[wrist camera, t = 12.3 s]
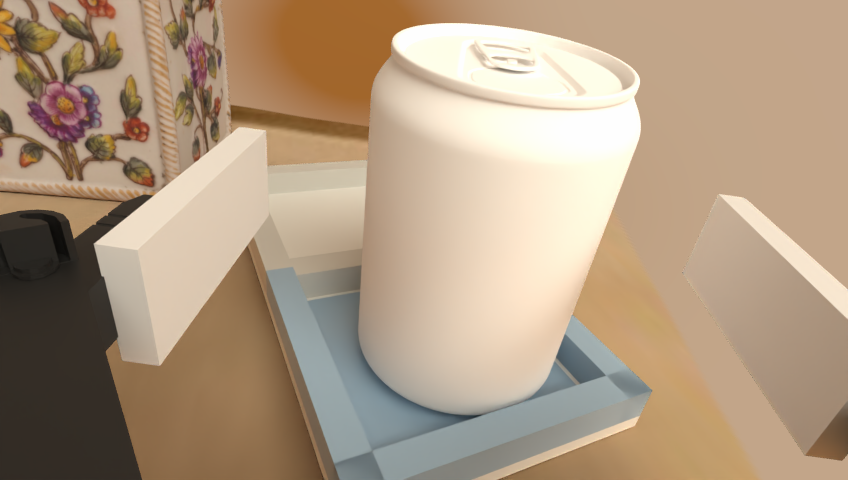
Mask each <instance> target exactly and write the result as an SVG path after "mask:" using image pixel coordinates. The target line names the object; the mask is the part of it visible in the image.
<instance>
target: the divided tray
mask: <svg viewBox="0 0 848 480" xmlns="http://www.w3.org/2000/svg"><path fill="white" fill-rule="evenodd" d="M367 161H368V160H358V161H341V162H324V163H308V164H291V165H274V166H267V172H268V199H269V216H268V217H267V219H266V220H265V222H264V223H263V224H262V226H261V227H260V228H259V230H258V231H257V233H256V234H255V235H254V237H253V238H252V240H251V241H250V242H249V244H248V248H249V251H250V254H251V257H252V260H253V263H254V267H255V270H256V273H257V276H258V279H259V282H260V285H261V288H262V291H263V294H264V297H265V300H266V303H267V306H268V309H269V313H270V316H271V319H272V322H273V325H274V328H275V331H276V334H277V337H278V340H279V343H280V346H281V349H282V352H283V355H284V359H285V362H286V365H287V368H288V371H289V374H290V377H291V380H292V383H293V386H294V389H295V392H296V395H297V398H298V401H299V405H300V408H301V411H302V414H303V417H304V420H305V423H306V426H307V429H308V432H309V435H310V438H311V441H312V444H313V447H314V451H315V454H316V457H317V460H318V463H319V466H320V469H321V472H322V475H323V478H324V480H498V479H500V478H503V477H505V476H508V475H511V474H513V473H516V472H518V471H521V470H523V469H526V468H528V467H531V466H534V465H536V464H539V463H541V462H544V461H546V460H549V459H551V458H554V457H557V456H559V455H562V454H564V453H567V452H569V451H572V450H574V449H577V448H580V447H582V446H585V445H587V444H590V443H592V442H595V441H597V440H600V439H603V438H605V437H608V436H610V435H613V434H615V433H618V432H621V431H623V430H626V429H628V428H631V427H633V426H635V424H636V422H637V420H638V418H639V416H640V414H641V412H642V410H643V408H644V406H645V404H646V402H647V400H648V398H649V396H650V394H651V392H652V390H651V389H650V388H649V387H648V386H647V385H646V384H645V383H644V382H643V381H642V380H641V379H640V378H639V377H638V376H637V375H635V374H634V373H633V372H632V371H631V370H630V369H629V368H628V367H627V366H626V365H625V364H624V363H623V362H622V361H621V360H620V359H619V358H618V357H617V356H615V355H614V354H613V353H612V352H611V351H610V350H609V349H608V348H607V347H606V346H605V345H604V344H603V343H602V342H601V341H600V340H599V339H598V338H597V337H595V336H594V335H593V334H592V333H591V332H590V331H589V330H588V329H587V328H586V327H585V326H584V325H583V324H582V323H581V322H580V321H579V320H578V319H576V318H575V317H574V316H573V315H572V316H571V319H570V321H569V324H568V326H567V329H566V332H565V334H564V337H563V340H562V342H561V345H560V347H559V350H558V353H557V355H556V358H555V360H554V363H553V366H552V368H551V371H550V373H549V375H548V377H547V379H546V381H545V383H544V384H543V385H542V387H541V388H540V389H539V390H538V391H537V392H536V393H535V394H534V395H533V396H531V397H530V398H529V399H527V400H526V401H524V402H523V403H520V404H517V405H513V406H510V407H507V408H504V409H501V410H498V411H495V412H492V413H489V414H485V415H456V414H449V413H444V412H439V411H435V410H432V409H429V408H426V407H423V406H421V405H418V404H416V403H414V402H412V401H410V400H408V399H406V398H404V397H402V396H401V395H399V394H398V393H396V392H395V391H393V390H392V389H391V388H390V387H388V386H387V385H386V384H385V383H384V382H383V381H382V380H381V379H380V378H379V377H378V376H377V375H376V374H375V373H374V371H373V370H372V369H371V367H370V366H369V364H368V362H367V361H366V359H365V357H364V355H363V352H362V350H361V347H360V343H359V336H358V322H359V304H360V286H361V268H362V250H363V232H364V215H365V197H366V179H367Z"/></svg>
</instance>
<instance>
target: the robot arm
mask: <svg viewBox="0 0 848 480" xmlns="http://www.w3.org/2000/svg"><path fill="white" fill-rule="evenodd" d="M268 216H269V199H268V172H267V145H266V131H265V130H258V129H251V128H244V127H239V128H237V129H236V130H235V131H234V132H233V133H231V134H230V135H229V136H228V137H226V138H225V139H224V140H223V141H221V142H220V143H219V144H218V145H216V146H215V147H214V148H213V149H211V150H210V151H209V152H208V153H206V154H205V155H204V156H203V157H201V158H200V159H199V160H198V161H196V162H195V163H194V164H193V165H191V166H190V167H189V168H188V169H186V170H185V171H184V172H183V173H181V174H180V175H179V176H178V177H176V178H175V179H174V180H173V181H171V182H170V183H169V184H168V185H167V186H165V187H164V188H163V189H162V190H160V191H159V192H158V193H157V194H155V195H154V196H153V195H146V194H143V195H141V196H138V197H136V198H133V199H131V200H128V201H125V202H123V203H121V204H120V205H119V206H117V207H116V208H115V209H113V210H112V211H111V212H109V213H108V216H104V217H103V218H101V219H100V220H99V221H97V222H96V225H92V226H91V227H89V228H88V229H87V230H85V231H84V232H83V233H81V234H80V235H79V236H77V237H76V238H75V239H73V235H72V231H71V228H70V224H69V220H68V219H67V218H66V217H65V216H64V215H63V214H60V213H57V212H54V211H48V210H25V211H17V212H12V213H8V214H3V215H0V480H142V478H141V474H140V471H139V467H138V464H137V461H136V457H135V454H134V450H133V447H132V443H131V440H130V436H129V433H128V429H127V426H126V422H125V419H124V415H123V412H122V408H121V405H120V401H119V398H118V394H117V391H116V387H115V384H114V380H113V377H112V373H111V370H110V366H109V363H108V359H107V356H106V352H105V351H106V350H107V349H108V348H109V347H110V346H111V345H112V343H113V342H114V341H115V340H116V339H117V342H118V346H119V350H120V354H121V358H122V361H128V362H135V363H142V364H149V365H157V366H160V365H161V364H162V362H163V361H164V360H165V358H166V357H167V355H168V354H169V353H170V351H171V350H172V349H173V347H174V346H175V344H176V343H177V342H178V340H179V339H180V337H181V336H182V335H183V333H184V332H185V331H186V329H187V328H188V326H189V325H190V324H191V322H192V321H193V320H194V318H195V317H196V315H197V314H198V313H199V311H200V310H201V309H202V307H203V306H204V304H205V303H206V302H207V300H208V299H209V297H210V296H211V295H212V293H213V292H214V291H215V289H216V288H217V286H218V285H219V284H220V282H221V281H222V280H223V278H224V277H225V275H226V274H227V273H228V271H229V270H230V268H231V267H232V266H233V264H234V263H235V262H236V260H237V259H238V257H239V256H240V255H241V253H242V252H243V251H244V249H245V248H246V246H247V245H248V244H249V242H250V241H251V240H252V238H253V237H254V235H255V234H256V233H257V231H258V230H259V228H260V227H261V226H262V224H263V223H264V222H265V220H266V219H267V217H268ZM682 273H683V275H684V276H685V278H686V279H687V281H688V282H689V284H690V285H691V287H692V288H693V290H694V291H695V293H696V294H697V296H698V297H699V299H700V300H701V302H702V303H703V305H704V306H705V308H706V309H707V311H708V312H709V314H710V315H711V316H712V318H713V319H714V321H715V323H716V324H717V326H718V327H719V329H720V330H721V331H722V333H723V334H724V336H725V337H726V339H727V340H728V342H729V343H730V345H731V346H732V348H733V349H734V351H735V352H736V354H737V355H738V357H739V358H740V360H741V361H742V363H743V364H744V366H745V367H746V369H747V370H748V372H749V373H750V375H751V376H752V378H753V379H754V381H755V382H756V384H757V385H758V387H759V388H760V390H761V391H762V392H763V394H764V396H765V397H766V398H767V400H768V401H769V403H770V404H771V406H772V407H773V409H774V410H775V412H776V413H777V415H778V416H779V418H780V419H781V421H782V422H783V424H784V425H785V427H786V428H787V430H788V431H789V433H790V434H791V436H792V437H793V439H794V440H795V442H796V443H797V445H798V446H799V447H800V449H801V450H802V452H803V454H804V455H806V456H812V457H820V458H827V459H834V460H841V461H842V460H843V459H844V458H845V457H846V456H847V454H848V289H847V288H845V287H844V286H843V285H842V284H841V283H840V282H839V281H838V280H836V279H835V278H834V277H833V276H832V275H831V274H830V273H829V272H827V271H826V270H825V269H824V268H823V267H822V266H821V265H820V264H818V263H817V262H816V261H815V260H814V259H813V258H812V257H810V256H809V255H808V254H807V253H806V252H805V251H804V250H803V249H802V248H800V247H799V246H798V245H797V244H796V243H795V242H794V241H793V240H792V239H790V238H789V237H788V236H787V235H786V234H785V233H784V232H782V231H781V230H780V229H779V228H778V227H777V226H776V225H775V224H774V223H772V222H771V221H770V220H769V219H768V218H767V217H766V216H765V215H763V214H762V213H761V212H760V211H759V210H758V209H757V208H755V207H754V206H753V205H752V204H751V203H750V202H749V201H748V200H746V199H745V198H743V197H735V196H728V195H721V194H718V196H717V198H716V200H715V203H714V205H713V207H712V209H711V212H710V213H709V216H708V218H707V220H706V222H705V224H704V226H703V229H702V231H701V233H700V235H699V237H698V240H697V242H696V244H695V246H694V248H693V251H692V253H691V255H690V257H689V259H688V261H687V264H686V266H685V268H684V270H683V272H682Z"/></svg>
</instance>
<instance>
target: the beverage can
mask: <svg viewBox="0 0 848 480" xmlns="http://www.w3.org/2000/svg"><path fill="white" fill-rule="evenodd" d="M391 52H392V55H391V57H390V58H389V59H388V60H387V61H386V63H385V64H384V65H383V66H382V68H381V69H380V71H379V72H378V74H377V76H376V78H375V80H374V83H373V86H372V92H371V108H370V125H369V143H368V161H367V179H366V197H365V215H364V232H363V250H362V268H361V286H360V304H359V322H358V336H359V343H360V347H361V350H362V352H363V355H364V357H365V359H366V361H367V362H368V364H369V366H370V367H371V369H372V370H373V371H374V373H375V374H376V375H377V376H378V377H379V378H380V379H381V380H382V381H383V382H384V383H385V384H386V385H387V386H388V387H390V388H391V389H392V390H393V391H395V392H396V393H398V394H399V395H401V396H402V397H404V398H406V399H408V400H410V401H412V402H414V403H416V404H418V405H421V406H423V407H426V408H429V409H432V410H435V411H439V412H444V413H449V414H456V415H485V414H489V413H492V412H495V411H498V410H501V409H504V408H507V407H510V406H513V405H517V404H520V403H523V402H524V401H526V400H527V399H529V398H530V397H531V396H533V395H534V394H535V393H536V392H537V391H538V390H539V389H540V388H541V387H542V385H543V384H544V383H545V381H546V379H547V377H548V375H549V373H550V371H551V368H552V366H553V363H554V360H555V358H556V355H557V353H558V350H559V347H560V345H561V342H562V340H563V337H564V334H565V332H566V329H567V326H568V324H569V321H570V319H571V316H572V313H573V311H574V308H575V306H576V303H577V300H578V298H579V295H580V292H581V290H582V287H583V285H584V282H585V279H586V277H587V274H588V272H589V269H590V266H591V264H592V261H593V258H594V256H595V253H596V251H597V248H598V245H599V243H600V240H601V237H602V235H603V232H604V230H605V227H606V224H607V222H608V219H609V217H610V214H611V211H612V209H613V206H614V203H615V201H616V198H617V195H618V193H619V190H620V188H621V185H622V182H623V180H624V177H625V175H626V172H627V169H628V167H629V164H630V162H631V159H632V156H633V154H634V151H635V148H636V145H637V143H638V140H639V136H640V129H641V124H640V117H639V113H638V109H637V106H636V103H635V100H634V95H635V94H636V92H637V90H638V87H639V84H640V79H639V76H638V74H637V73H636V72H635V71H634V70H633V69H632V68H631V67H630V66H629V65H627V64H626V63H624V62H623V61H621V60H619V59H617V58H615V57H613V56H611V55H609V54H607V53H604V52H602V51H600V50H597V49H594V48H592V47H589V46H586V45H583V44H580V43H576V42H573V41H569V40H566V39H562V38H559V37H554V36H550V35H546V34H541V33H536V32H531V31H526V30H520V29H514V28H506V27H499V26H491V25H479V24H461V23H460V24H458V23H446V24H445V23H444V24H428V25H421V26H416V27H411V28H408V29H405V30H403V31H400V32H399V33H397V34H396V35H395V36H394V37H393V39H392V44H391Z"/></svg>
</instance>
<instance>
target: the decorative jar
mask: <svg viewBox="0 0 848 480" xmlns="http://www.w3.org/2000/svg"><path fill="white" fill-rule="evenodd" d="M230 134H231V111H230V96H229V85H228V73H227V61H226V49H225V37H224V25H223V13H222V1H221V0H0V191H8V192H21V193H33V194H44V195H56V196H70V197H80V198H90V199H100V200H115V201H124V202H125V201H128V200H131V199H133V198H136V197H138V196H141V195H143V194H146V195H153V196H154V195H155V194H157V193H158V192H159V191H160V190H162V189H163V188H164V187H165V186H167V185H168V184H169V183H170V182H171V181H173V180H174V179H175V178H176V177H178V176H179V175H180V174H181V173H183V172H184V171H185V170H186V169H188V168H189V167H190V166H191V165H193V164H194V163H195V162H196V161H198V160H199V159H200V158H201V157H203V156H204V155H205V154H206V153H208V152H209V151H210V150H211V149H213V148H214V147H215V146H216V145H218V144H219V143H220V142H221V141H223V140H224V139H225V138H226V137H228V136H229V135H230Z"/></svg>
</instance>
